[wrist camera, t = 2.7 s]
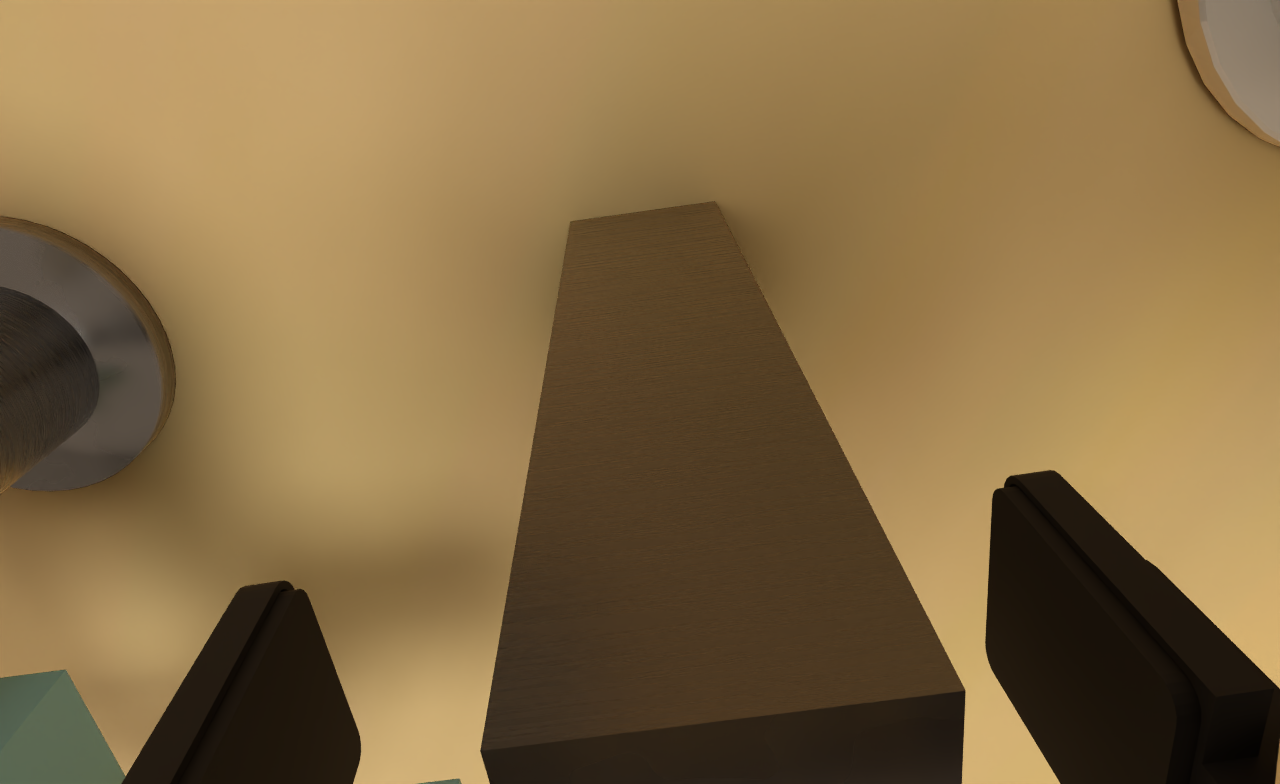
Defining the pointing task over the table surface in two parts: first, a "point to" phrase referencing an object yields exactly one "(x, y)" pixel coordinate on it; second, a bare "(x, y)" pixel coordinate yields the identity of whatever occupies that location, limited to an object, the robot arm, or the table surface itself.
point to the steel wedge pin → (701, 549)
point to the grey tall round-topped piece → (74, 363)
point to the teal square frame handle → (55, 735)
